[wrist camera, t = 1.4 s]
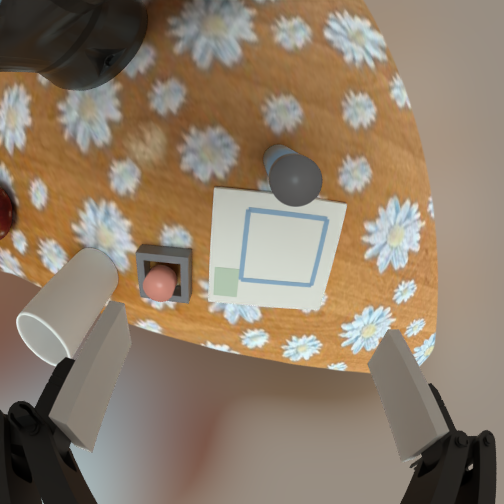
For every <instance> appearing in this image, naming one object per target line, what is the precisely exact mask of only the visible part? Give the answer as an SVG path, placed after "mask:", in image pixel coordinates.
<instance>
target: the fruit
mask: <svg viewBox="0 0 504 504" xmlns="http://www.w3.org/2000/svg"><path fill="white" fill-rule="evenodd" d="M11 223H12V204H11V201H10V198H9V197H8V195H7V193H6V192H5V191H4V190H3V189H2V188H0V240H1V239H2V238H4V237H5V236H6V235H7V233H8V232H9V230H10V227H11Z"/></svg>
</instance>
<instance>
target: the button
mask: <svg viewBox="0 0 504 504" xmlns="http://www.w3.org/2000/svg"><path fill="white" fill-rule="evenodd" d="M176 285H177V276H176V273H175V272H174V271H173V270H172V269H171V268H170V267H168V266H165V265H156V266H154V267H152V268H151V269H150V271H149V273H148V274H147V276H146V278H145V279H144V281H143V290H144V292H145V293H146V295H147V296H148V297H149V298H151V299H152V300H155V301H158V302H164V301H167V300H169V299H170V298H171V297H172V295H173V292H174V290H175V287H176Z"/></svg>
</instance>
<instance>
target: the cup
mask: <svg viewBox="0 0 504 504" xmlns="http://www.w3.org/2000/svg"><path fill="white" fill-rule="evenodd" d="M117 285H118V272H117V269H116V267H115V265H114V263H113V262H112V260H111V259H110V258H109V257H108V256H107V255H106V254H105V253H103V252H102V251H100V250H98V249H95V248H84V249H82V250H80V251H79V252H78V253H77V254H76V255H75V256H74V257H73V258H72V259H71V260H70V261H69V262H68V263H67V264H65V265H64V266H63V267H62V268H61V269H60V270H59V271H58V272H57V273H56V274H55V275H54V276H53V277H52V279H51V280H50V281H49V282H48V283H47V284H46V285H45V286H44V287H43V288H42V289H41V290H40V291H39V292H38V293H37V294H36V296H35V297H34V298H33V299H32V300H31V301H30V302H29V303H28V305H27V306H26V307H25V308H24V309H23V310H22V312H21V313H20V314H19V316H18V317H17V320H16V322H17V323H16V324H17V328H18V331H19V333H20V335H21V337H22V338H23V340H24V342H25V343H26V345H27V346H28V347H29V348H30V349H31V350H32V351H33V352H34V353H35V354H36V355H37V356H38V357H40V358H41V359H42V360H44V361H45V362H47V363H49V364H51V365H54V366H57V364H58V363H59V362H60V361H62V360H63V359H64V358H65V357H68V358H71V359H72V358H73V356H74V354H75V352H76V351H77V349H78V347H79V346H80V344H81V342H82V341H83V339H84V337H85V336H86V334H87V332H88V331H89V329H90V327H91V325H92V324H93V322H94V321H95V319H96V318H97V316H98V314H99V313H100V311H101V310H102V308H103V307H104V305H105V304H106V302H107V301H108V299H109V298H110V296H111V295H112V293H113V292H114V290H115V289H116V287H117Z"/></svg>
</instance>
